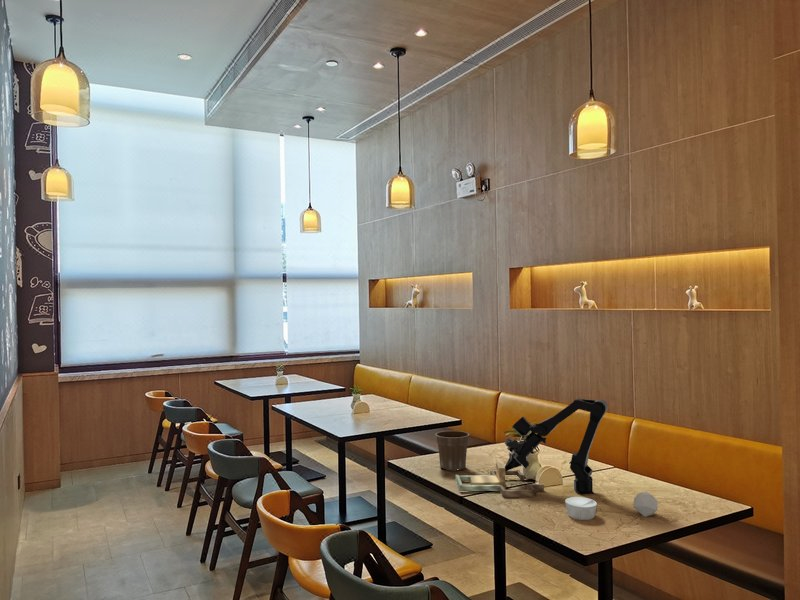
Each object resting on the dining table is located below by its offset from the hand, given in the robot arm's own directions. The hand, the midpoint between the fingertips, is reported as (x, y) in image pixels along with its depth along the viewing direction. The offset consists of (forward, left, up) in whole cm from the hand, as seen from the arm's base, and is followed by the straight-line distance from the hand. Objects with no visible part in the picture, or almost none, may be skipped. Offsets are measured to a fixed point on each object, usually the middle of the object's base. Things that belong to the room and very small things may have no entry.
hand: (504, 470), depth 257 cm
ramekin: (-21, +37, -7) cm, 43 cm away
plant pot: (+19, -30, -7) cm, 36 cm away
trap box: (+3, 0, -7) cm, 7 cm away
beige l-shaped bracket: (+7, -1, -7) cm, 10 cm away
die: (-45, +37, -7) cm, 59 cm away
